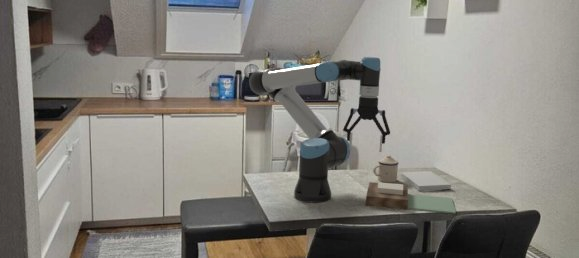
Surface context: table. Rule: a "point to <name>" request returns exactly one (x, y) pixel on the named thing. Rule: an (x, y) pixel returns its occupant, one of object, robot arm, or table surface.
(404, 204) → the walnut board
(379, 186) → the ceramic tile
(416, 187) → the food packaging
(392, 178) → the teacup with lid
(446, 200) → the rubber mat
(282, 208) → the table surface
